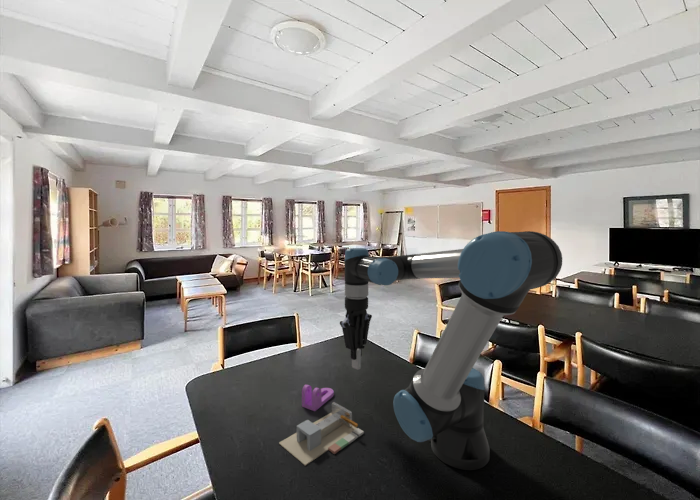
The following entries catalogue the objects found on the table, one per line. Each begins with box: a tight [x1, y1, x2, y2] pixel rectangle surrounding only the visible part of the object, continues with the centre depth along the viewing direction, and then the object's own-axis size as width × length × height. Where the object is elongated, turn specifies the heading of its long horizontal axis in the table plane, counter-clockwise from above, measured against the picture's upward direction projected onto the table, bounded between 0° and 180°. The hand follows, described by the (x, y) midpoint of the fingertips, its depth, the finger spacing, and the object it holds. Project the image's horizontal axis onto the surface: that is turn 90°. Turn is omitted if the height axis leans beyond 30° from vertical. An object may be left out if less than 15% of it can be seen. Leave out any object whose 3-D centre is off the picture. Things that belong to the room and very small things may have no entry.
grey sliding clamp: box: [306, 401, 359, 440], centre depth 94 cm, size 12×14×5 cm
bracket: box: [301, 383, 335, 412], centre depth 113 cm, size 13×6×7 cm, turn 149°
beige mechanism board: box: [278, 412, 365, 467], centre depth 92 cm, size 14×20×5 cm
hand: (356, 367), depth 104 cm, fingers closed
